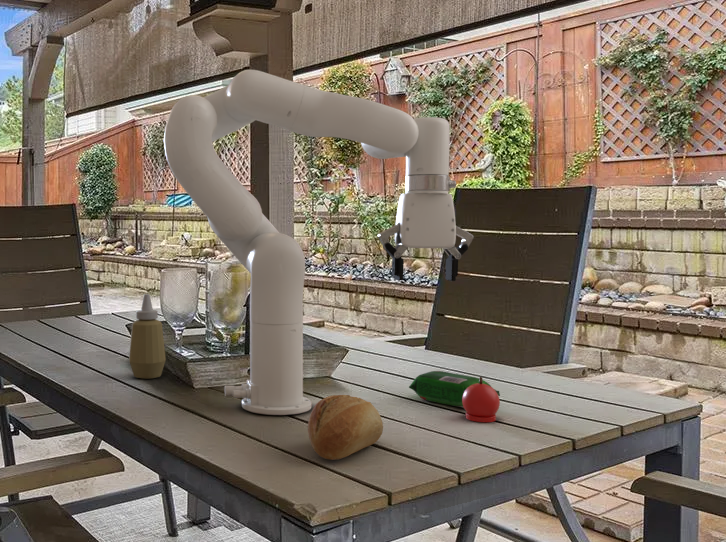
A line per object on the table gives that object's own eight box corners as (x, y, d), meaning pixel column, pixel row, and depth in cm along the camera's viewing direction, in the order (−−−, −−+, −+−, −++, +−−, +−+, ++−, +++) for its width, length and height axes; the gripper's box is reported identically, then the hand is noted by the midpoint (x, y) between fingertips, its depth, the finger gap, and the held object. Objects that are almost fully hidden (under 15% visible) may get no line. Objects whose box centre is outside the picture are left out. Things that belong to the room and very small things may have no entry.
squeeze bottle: (164, 380, 160) (164, 296, 160) (126, 380, 160) (126, 296, 160) (166, 372, 168) (166, 292, 168) (130, 373, 169) (130, 292, 168)
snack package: (478, 415, 131) (478, 385, 131) (406, 397, 143) (406, 370, 143) (502, 409, 135) (502, 380, 135) (429, 393, 147) (430, 366, 147)
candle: (471, 423, 125) (471, 380, 125) (456, 414, 131) (456, 373, 131) (506, 422, 125) (506, 380, 125) (489, 413, 131) (489, 373, 131)
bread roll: (291, 459, 106) (291, 403, 106) (334, 434, 119) (334, 384, 119) (355, 471, 101) (355, 412, 101) (393, 444, 113) (393, 391, 113)
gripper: (465, 188, 141) (462, 279, 142) (374, 186, 140) (372, 278, 141) (482, 186, 134) (479, 282, 134) (386, 184, 133) (383, 281, 133)
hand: (424, 280), depth 137 cm, fingers open, 9 cm apart
